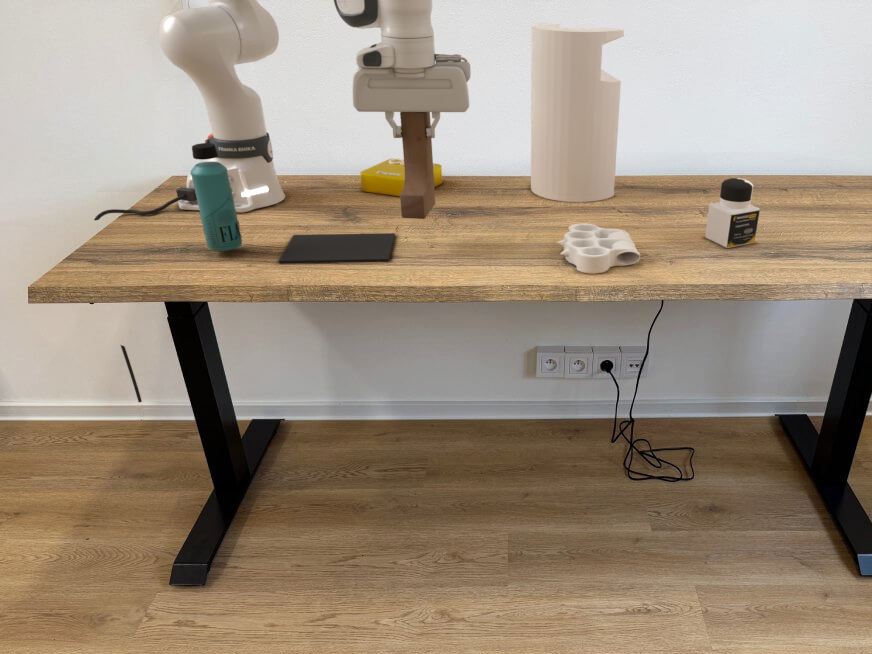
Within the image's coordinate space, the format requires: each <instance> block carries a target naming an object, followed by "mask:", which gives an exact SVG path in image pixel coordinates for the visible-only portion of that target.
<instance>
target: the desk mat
mask: <svg viewBox="0 0 872 654" xmlns="http://www.w3.org/2000/svg"><path fill="white" fill-rule="evenodd" d="M395 238H396V233H394V232H393V233H392V232H391V233H389V232H388V233H387V232H386V233H385V232H383V233H331V234H330V233H326V234H325V233H324V234H322V233H321V234H293V235H292V237H291V239H290V241H289V242H288V244H287V245H286V247H285V249H284V251H283V253H282V254H281V256H280V258H279V259H278V263H279V264H313V263H315V264H316V263H317V264H319V263H365V262H366V263H371V262H374V263H375V262H389V261H390V257H391V253H392V249H393V245H394V241H395Z"/></svg>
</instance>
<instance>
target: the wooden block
mask: <svg viewBox="0 0 872 654" xmlns="http://www.w3.org/2000/svg"><path fill="white" fill-rule="evenodd" d="M399 113H400V114H399V116H400V126H401V127H402V131H401V132H402V138H401V140H402V151H403V152H402V153H403V160H404V167H405V180H404V188H403V190H402V192H401V194H400V197H399V202H400V210H401V211H400V212H401V213H400V214H401V217H402V219H413V220H414V219H416V220H425V219H426V218H427V217H428V215H429V214H430V212H431V211H432V209H433V208H434V206H435V205H436V190H435V188H436V187H435V188H434V172H433V163H434V158H433V157H434V156H433V142H432V138H427V132H426V127H427V126H431V125H432V123H431V112H399Z"/></svg>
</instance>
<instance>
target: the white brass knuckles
mask: <svg viewBox="0 0 872 654" xmlns="http://www.w3.org/2000/svg"><path fill="white" fill-rule="evenodd" d="M556 244H558V245H560V246H562V247H563V250H562V251H561V252H560V253H559V255H561V256H564V257H565V260H566V261H567V262H568V263H569V264H571V265H574V266H575V267H576V270H577V271H578V272H579V273H583V274H588V275H589V274H591V275H592V274H593V275H596V274H597V275H598V274H603V273H605V272H607V271H608V270H610V268H613V267H625V266H631V265H634V264H636V263H638V262H639V261H640V260H641V253H640V252H639V251H638V249H637V248H636V243H635V242H633V240H632V238H631V233H630V232H627V231H626V230H624V229H621V228H604V227H600V226H598V225H596V224H593V223H586V222H585V223H583V222H581V223H573V224H571V225H569V226H568V232H565V234H564V236H563V239H561V240H558V241H556Z"/></svg>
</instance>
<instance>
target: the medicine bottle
mask: <svg viewBox="0 0 872 654" xmlns="http://www.w3.org/2000/svg"><path fill="white" fill-rule="evenodd" d="M720 185H721V186H720V194H719V201H716V202H710V203H709V205H708V210H707V218H706V227H705V233H704V237H705V239H707V240H709V241H711V242H713V243H716V244H717V245H720V246H721V247H723V248H725V249H731V248H735V247H739V246H740V247H741V246H747V245H752V244H754V243H756V236H757V231H758V230H757V228H758V223H759V218H760V213H761V212H760V211H761V209H760V207H757V206H755V205H753V204H751V203H752V199H753V192H754V186H755V185H754V184H753V182H752V181H750V180H748V179H745V178H739V177H731V178H727V179H725V180H723V181H722V182H721V184H720Z"/></svg>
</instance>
